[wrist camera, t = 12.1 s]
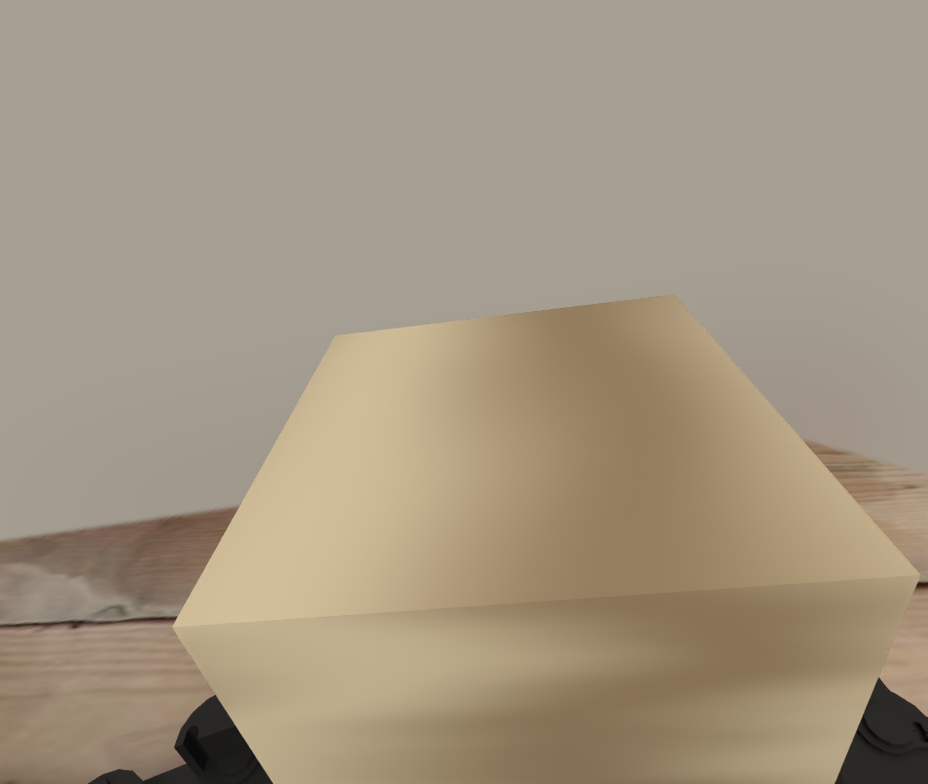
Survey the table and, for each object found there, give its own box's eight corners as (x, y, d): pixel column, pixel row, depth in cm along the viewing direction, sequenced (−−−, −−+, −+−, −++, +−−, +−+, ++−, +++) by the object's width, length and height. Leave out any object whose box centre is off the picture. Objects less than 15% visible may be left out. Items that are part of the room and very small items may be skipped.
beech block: (422, 1014, 11) (171, 627, 5) (442, 706, 16) (335, 335, 10) (738, 1016, 10) (920, 575, 4) (651, 696, 15) (674, 294, 9)
